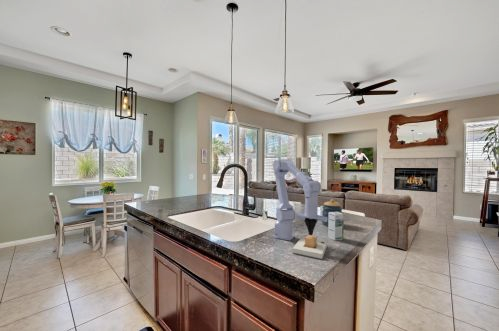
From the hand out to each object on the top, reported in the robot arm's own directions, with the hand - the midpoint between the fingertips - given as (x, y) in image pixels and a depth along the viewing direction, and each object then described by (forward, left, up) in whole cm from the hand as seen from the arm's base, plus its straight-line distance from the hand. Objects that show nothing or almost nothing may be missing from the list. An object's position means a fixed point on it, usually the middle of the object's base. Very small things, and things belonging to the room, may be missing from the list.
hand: (310, 234), depth 102 cm
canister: (+4, +51, -8) cm, 52 cm away
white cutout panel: (0, 0, -8) cm, 8 cm away
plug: (0, 0, -7) cm, 7 cm away
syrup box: (+9, +23, -8) cm, 26 cm away
